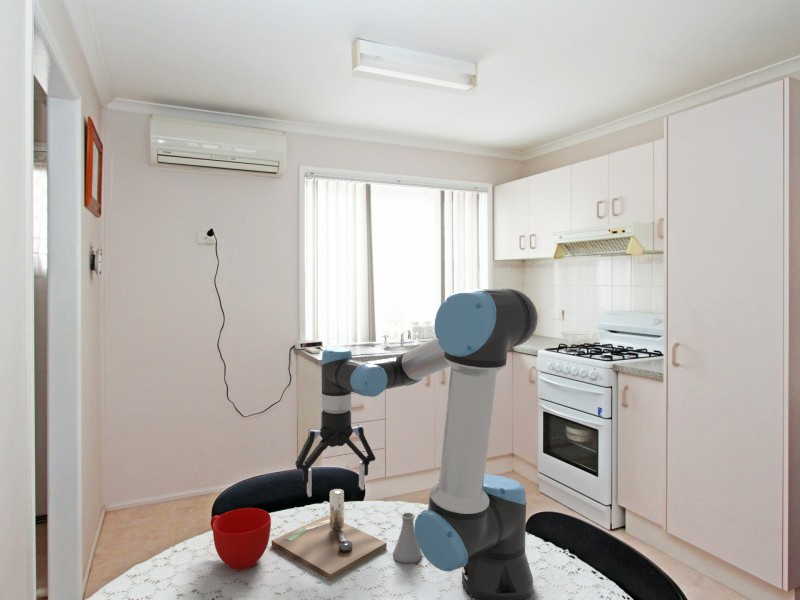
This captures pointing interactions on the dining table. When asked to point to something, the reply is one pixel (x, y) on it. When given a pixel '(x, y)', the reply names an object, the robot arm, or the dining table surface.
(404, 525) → the flask
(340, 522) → the metal crank handle
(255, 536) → the ceramic cup
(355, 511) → the dining table surface
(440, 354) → the robot arm
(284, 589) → the dining table surface
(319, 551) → the board
